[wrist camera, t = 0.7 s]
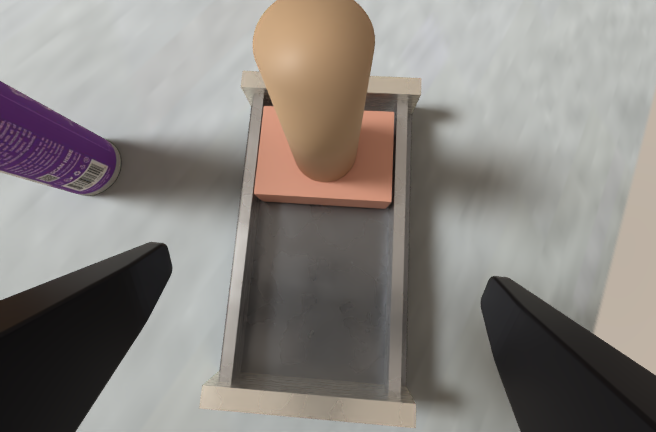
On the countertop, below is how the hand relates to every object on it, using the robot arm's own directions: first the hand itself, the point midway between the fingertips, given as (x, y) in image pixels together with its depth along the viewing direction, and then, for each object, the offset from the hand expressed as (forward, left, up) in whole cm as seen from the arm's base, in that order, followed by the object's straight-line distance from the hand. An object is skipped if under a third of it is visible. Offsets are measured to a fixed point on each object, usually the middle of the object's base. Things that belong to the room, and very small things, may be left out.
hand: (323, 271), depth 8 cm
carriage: (+4, +6, -12) cm, 14 cm away
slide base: (+1, +2, -13) cm, 13 cm away
